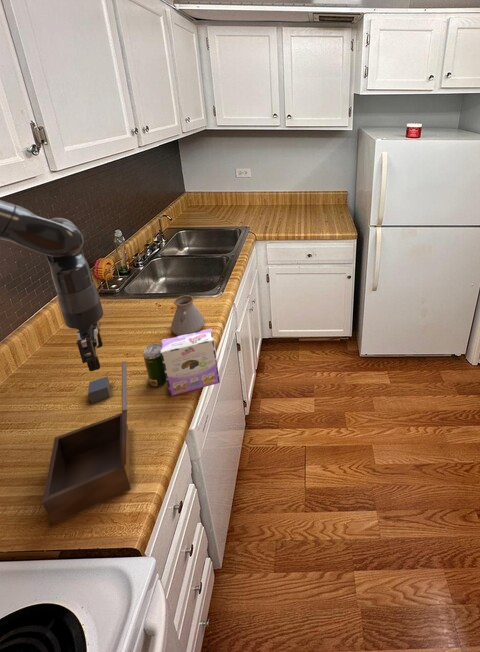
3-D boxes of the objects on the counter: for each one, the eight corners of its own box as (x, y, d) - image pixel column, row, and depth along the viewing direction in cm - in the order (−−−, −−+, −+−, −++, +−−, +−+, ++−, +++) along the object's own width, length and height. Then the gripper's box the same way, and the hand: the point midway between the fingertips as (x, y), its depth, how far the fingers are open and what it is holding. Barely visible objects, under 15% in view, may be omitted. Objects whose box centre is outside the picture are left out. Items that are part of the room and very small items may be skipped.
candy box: (218, 370, 103) (212, 327, 97) (220, 385, 98) (214, 340, 91) (170, 383, 98) (161, 338, 92) (169, 398, 93) (159, 352, 87)
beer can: (165, 388, 96) (158, 356, 92) (146, 388, 96) (138, 356, 92) (172, 374, 101) (166, 343, 97) (155, 374, 101) (148, 342, 97)
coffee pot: (173, 323, 124) (166, 289, 118) (205, 317, 127) (200, 284, 122) (168, 364, 105) (161, 325, 100) (206, 355, 109) (201, 318, 103)
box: (53, 527, 65) (41, 502, 62) (64, 460, 77) (54, 437, 74) (131, 490, 71) (124, 466, 68) (130, 434, 83) (123, 412, 80)
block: (92, 405, 91) (88, 393, 89) (93, 393, 94) (89, 382, 93) (110, 399, 93) (107, 387, 91) (110, 387, 96) (107, 376, 95)
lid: (122, 410, 64) (127, 409, 64) (122, 361, 76) (126, 360, 76) (121, 466, 68) (126, 464, 68) (121, 411, 80) (125, 410, 80)
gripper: (65, 291, 81) (82, 345, 87) (54, 324, 69) (74, 383, 75) (101, 284, 84) (115, 336, 90) (96, 315, 72) (112, 372, 78)
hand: (96, 357), depth 83 cm, fingers open, 8 cm apart
